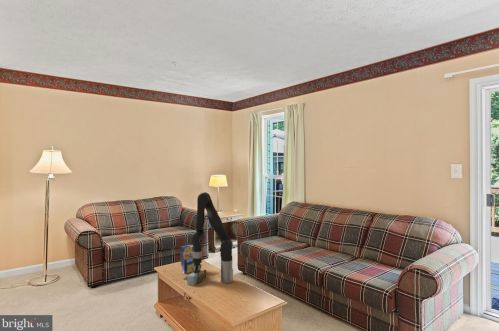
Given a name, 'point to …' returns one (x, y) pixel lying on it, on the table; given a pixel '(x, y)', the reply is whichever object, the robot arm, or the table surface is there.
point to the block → (192, 279)
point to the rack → (202, 277)
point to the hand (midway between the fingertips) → (197, 277)
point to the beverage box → (187, 259)
